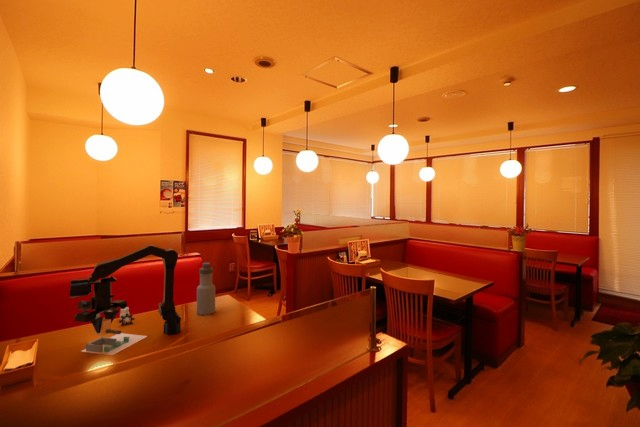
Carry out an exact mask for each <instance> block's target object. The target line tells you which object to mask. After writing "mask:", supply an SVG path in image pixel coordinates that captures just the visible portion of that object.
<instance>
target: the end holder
mask: <svg viewBox="0 0 640 427" xmlns="http://www.w3.org/2000/svg"><path fill="white" fill-rule="evenodd" d="M115 341H116V339H115V338H110V337H104V336H101V337H100V338H96V339H95V340H93V341H91V342H88V343H85V346H86V347H85V349H86V351H94V352H103V345H101V344H107V345H113V342H115Z"/></svg>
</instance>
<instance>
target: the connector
mask: <svg viewBox="0 0 640 427" xmlns="http://www.w3.org/2000/svg"><path fill="white" fill-rule="evenodd" d="M121 333H122V330H119V329H112V323H111V319H106V318H105V317H103V321H102V326H101V330H100V333H97V332H96V330H95V328H94V327H93V335H94V336H101V337H104V336H105V335H106V336H107V334H115V335H116V334H121Z"/></svg>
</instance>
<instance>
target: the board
mask: <svg viewBox="0 0 640 427" xmlns="http://www.w3.org/2000/svg"><path fill="white" fill-rule="evenodd" d="M124 337H129V341H128V342H126V343H124V344H122V345H120V346H118V347H117V348H115V349H113V350H111V351H109V352H105V351H104V347H105V346H110V347H112V346H113V345H107V344H101V345H103V352H94V351H86V348H85V349H82V350H80V352H82V353H88V354H90V353H91V354H97V355H98V354H99V355H105V356H114V355H116V354H117V353H120V352H121V351H123V350H125V349H127V348H128V347H129V348H130V347H131V346H132V345H135V344H136V343H138V342H139V341H141V340H143V339H145V338H147V337H148V336H147V335H142V334H141V335H140V334H131V333H123V332H121V334H115V335H112V336H110V337H109V338H115V339H116V341H121V342H122V341H124Z"/></svg>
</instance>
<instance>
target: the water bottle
mask: <svg viewBox="0 0 640 427" xmlns="http://www.w3.org/2000/svg"><path fill="white" fill-rule="evenodd" d="M213 271H214V268H213V267H211V263H210V262H203V263H202V267H201V268H199V285H198V286H197V287H196V314H197V315H199V316H208V315H209V316H210V315H211V314H214V313H215V312H216V286H215V284H213Z"/></svg>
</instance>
